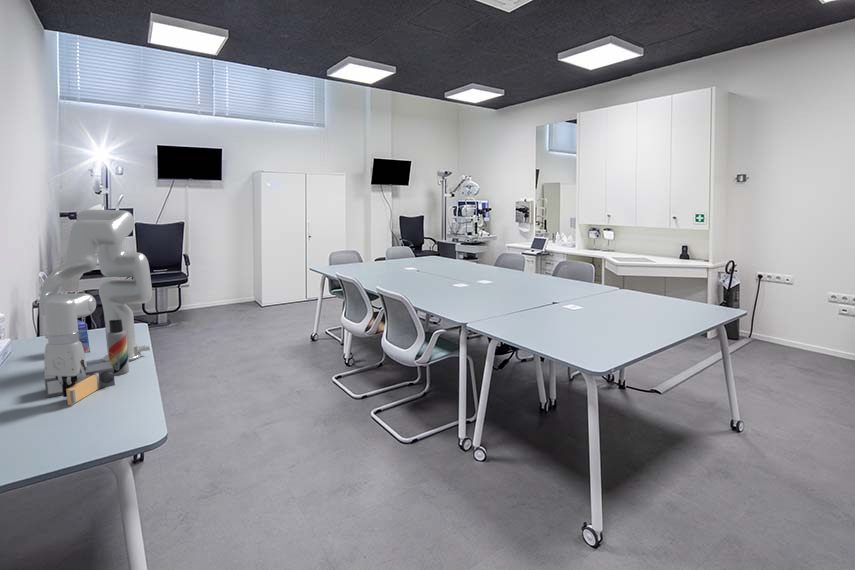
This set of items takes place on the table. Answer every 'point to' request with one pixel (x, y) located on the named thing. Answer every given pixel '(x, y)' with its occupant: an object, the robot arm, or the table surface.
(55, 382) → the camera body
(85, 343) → the ink cartridge box
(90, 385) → the tall beige panel
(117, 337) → the lotion bottle
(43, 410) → the table surface
